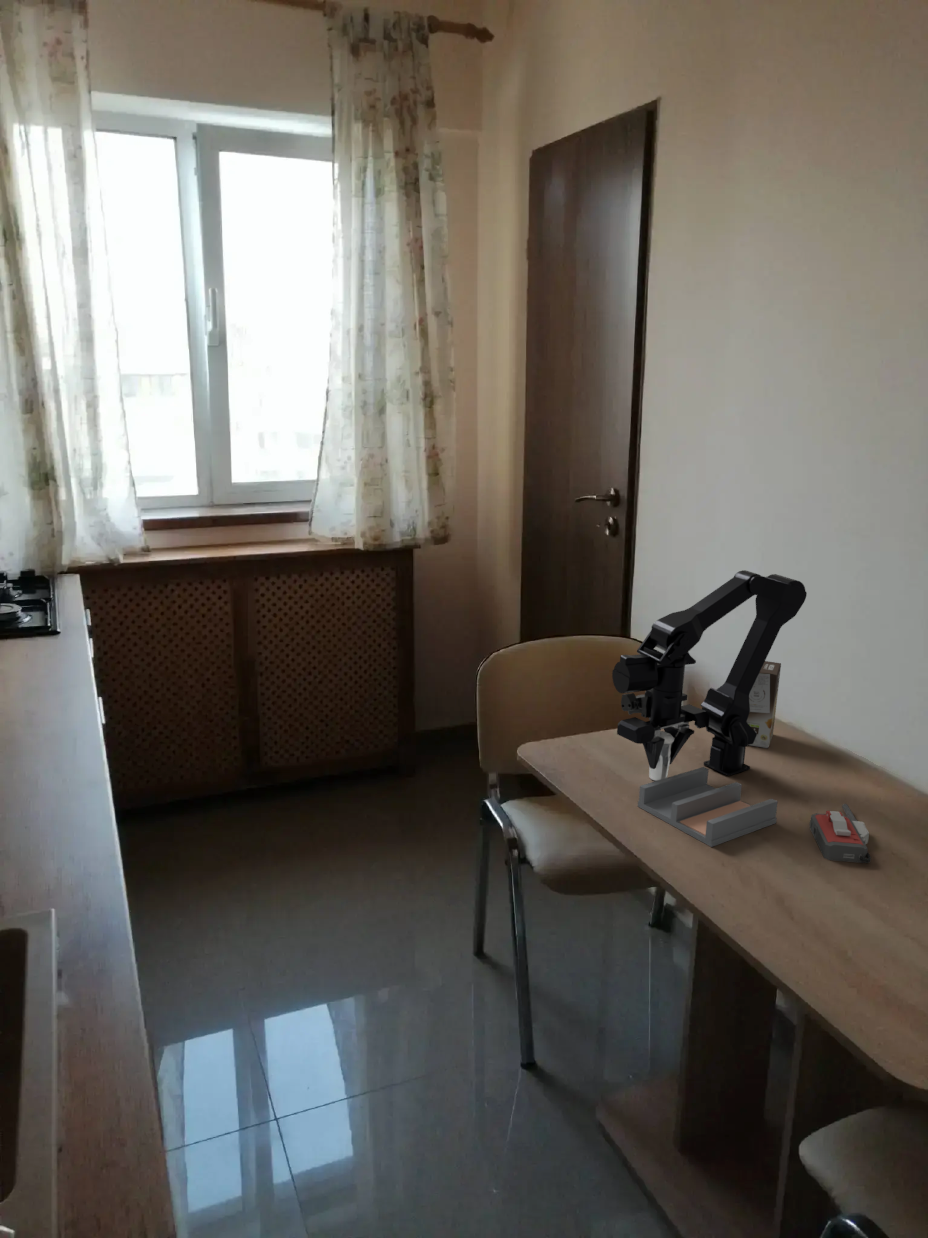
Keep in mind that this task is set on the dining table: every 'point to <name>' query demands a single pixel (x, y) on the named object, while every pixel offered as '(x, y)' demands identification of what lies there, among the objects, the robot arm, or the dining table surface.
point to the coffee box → (764, 703)
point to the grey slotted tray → (705, 807)
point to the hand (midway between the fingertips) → (660, 766)
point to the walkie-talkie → (840, 836)
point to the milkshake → (663, 758)
